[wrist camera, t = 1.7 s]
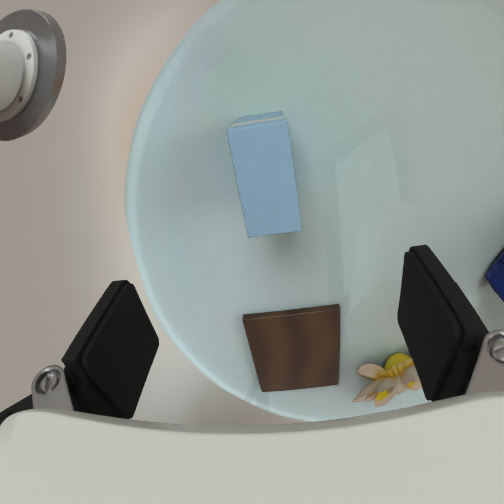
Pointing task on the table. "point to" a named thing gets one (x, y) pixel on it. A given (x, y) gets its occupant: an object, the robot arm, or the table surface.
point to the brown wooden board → (295, 347)
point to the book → (497, 275)
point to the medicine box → (265, 174)
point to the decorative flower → (389, 379)
